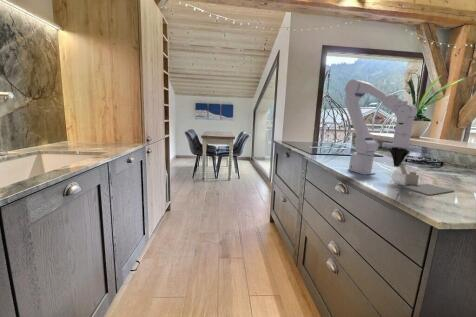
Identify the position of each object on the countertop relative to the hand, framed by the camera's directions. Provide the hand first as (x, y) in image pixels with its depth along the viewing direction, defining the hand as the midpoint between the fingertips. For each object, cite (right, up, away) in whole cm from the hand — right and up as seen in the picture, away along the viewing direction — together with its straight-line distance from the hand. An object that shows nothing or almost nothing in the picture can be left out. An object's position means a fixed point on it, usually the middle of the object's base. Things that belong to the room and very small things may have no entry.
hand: (396, 166), depth 101 cm
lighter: (+2, -7, -3) cm, 8 cm away
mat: (+5, -9, -10) cm, 14 cm away
